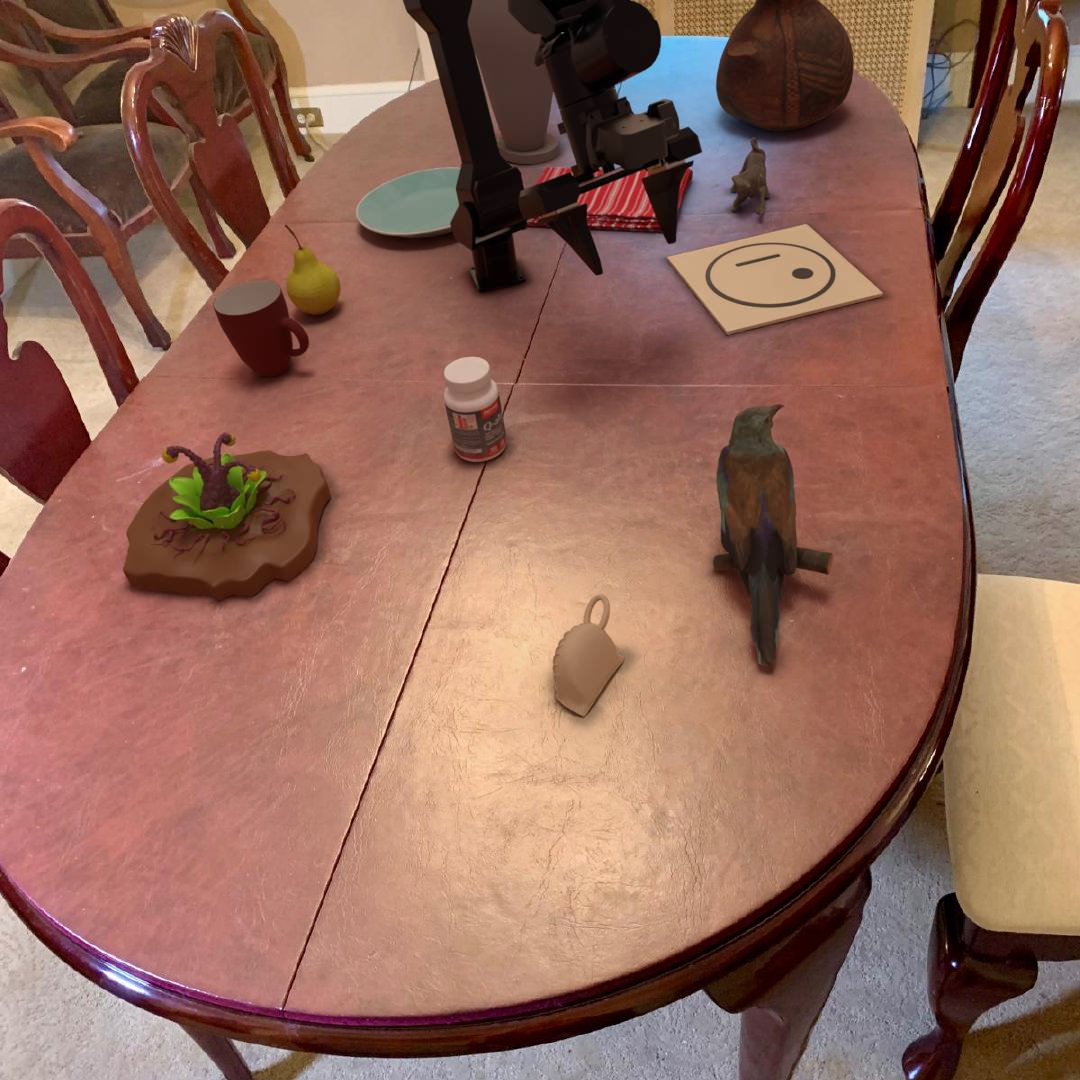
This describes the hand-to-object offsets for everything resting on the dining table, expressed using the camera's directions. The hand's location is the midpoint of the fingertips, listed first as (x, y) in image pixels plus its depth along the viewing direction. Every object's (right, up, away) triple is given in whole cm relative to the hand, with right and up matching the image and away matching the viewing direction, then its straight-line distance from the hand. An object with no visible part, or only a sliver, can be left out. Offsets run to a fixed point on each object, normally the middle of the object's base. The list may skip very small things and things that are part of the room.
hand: (636, 258), depth 96 cm
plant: (-41, -28, 0) cm, 50 cm away
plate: (-26, +21, +47) cm, 58 cm away
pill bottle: (-16, -19, +5) cm, 25 cm away
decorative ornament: (-6, -40, -18) cm, 44 cm away
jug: (+29, +41, +59) cm, 77 cm away
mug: (-42, -8, +21) cm, 47 cm away
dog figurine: (+20, +19, +38) cm, 47 cm away
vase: (-12, +35, +60) cm, 71 cm away
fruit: (-39, +2, +30) cm, 49 cm away
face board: (+19, +5, +23) cm, 31 cm away
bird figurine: (+11, -32, -12) cm, 36 cm away
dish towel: (0, +21, +44) cm, 48 cm away
